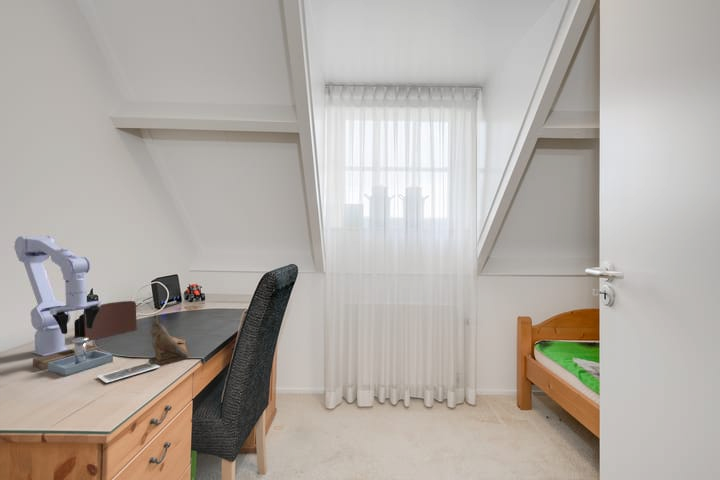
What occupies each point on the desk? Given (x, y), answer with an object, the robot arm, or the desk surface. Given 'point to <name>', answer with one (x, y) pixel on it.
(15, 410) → the desk surface
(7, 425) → the desk surface
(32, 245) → the robot arm
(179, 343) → the sunglasses case
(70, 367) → the tray
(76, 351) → the steel pin
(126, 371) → the touchpad
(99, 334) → the letter holder
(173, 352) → the brown carved statuette
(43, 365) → the brown flat block
